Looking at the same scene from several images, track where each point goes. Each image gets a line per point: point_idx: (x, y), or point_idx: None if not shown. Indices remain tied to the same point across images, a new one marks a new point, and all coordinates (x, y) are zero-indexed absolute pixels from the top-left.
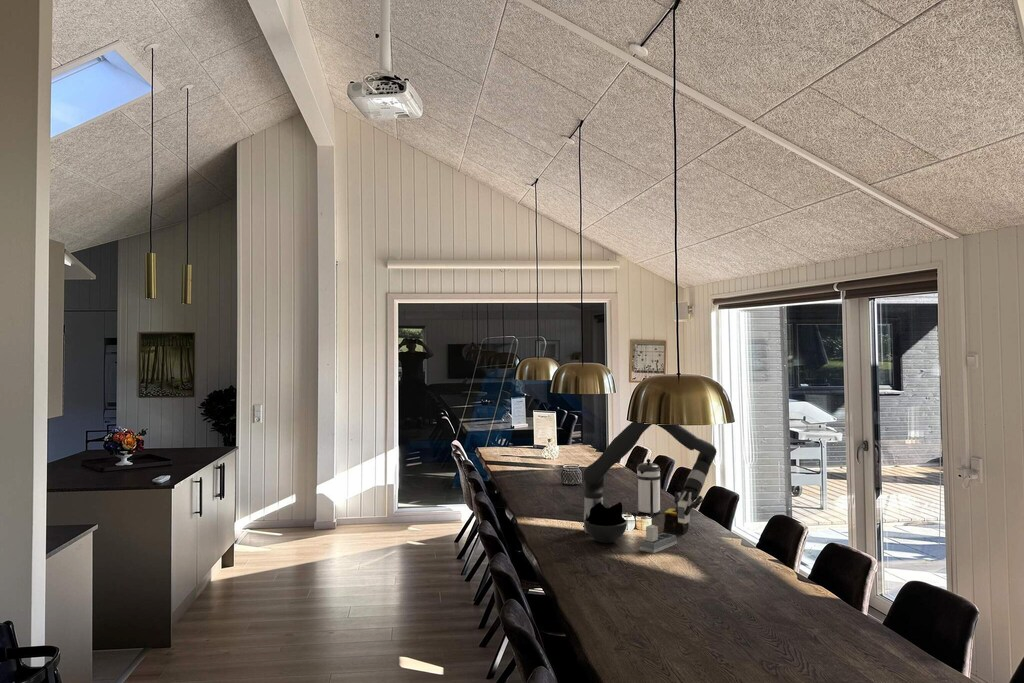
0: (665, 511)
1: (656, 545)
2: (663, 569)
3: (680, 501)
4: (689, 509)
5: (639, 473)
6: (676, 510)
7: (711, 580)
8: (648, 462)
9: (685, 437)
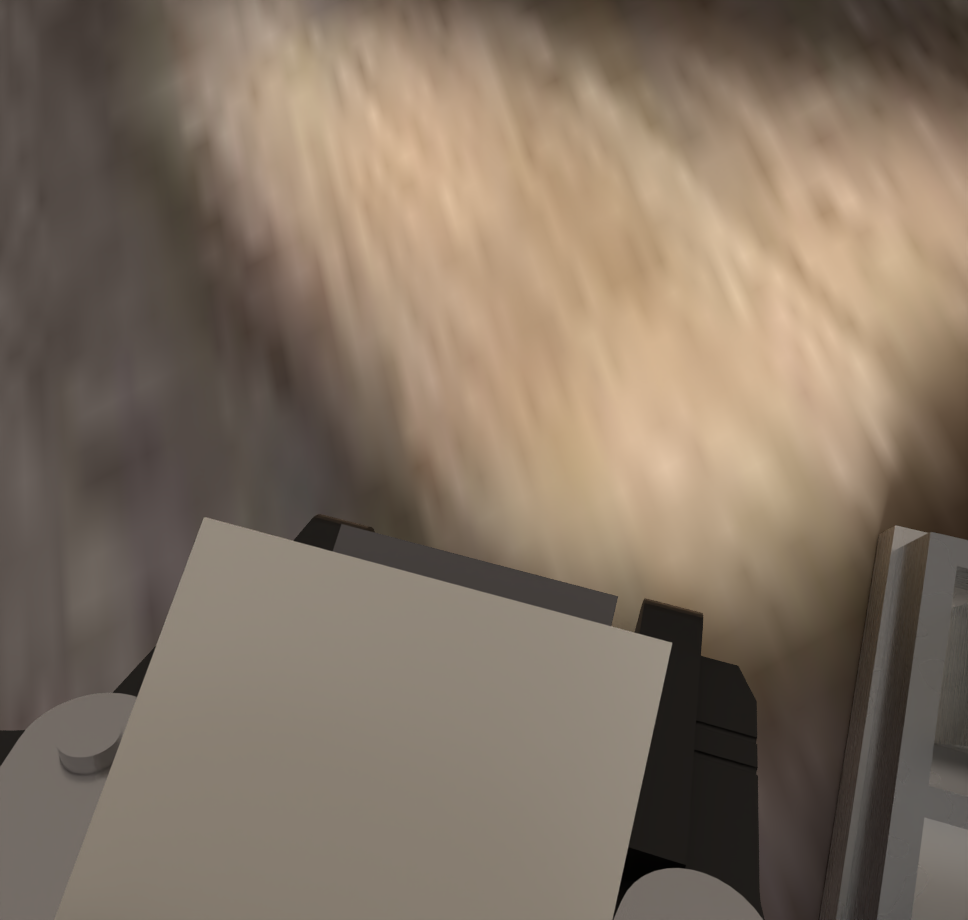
0: None
1: (907, 601)
2: (560, 68)
3: (555, 829)
4: None
5: None
6: (679, 623)
7: (103, 18)
8: None
9: None
